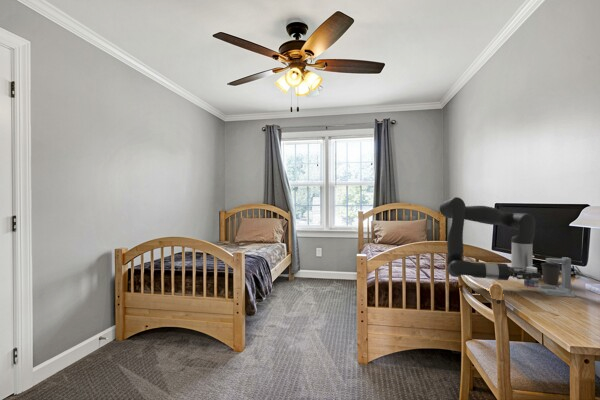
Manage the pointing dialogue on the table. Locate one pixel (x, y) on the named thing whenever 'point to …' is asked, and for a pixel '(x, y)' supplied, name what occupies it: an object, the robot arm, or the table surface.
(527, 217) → the robot arm
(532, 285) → the pill bottle
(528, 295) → the table surface
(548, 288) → the stand
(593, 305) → the table surface
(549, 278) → the coffee cup
